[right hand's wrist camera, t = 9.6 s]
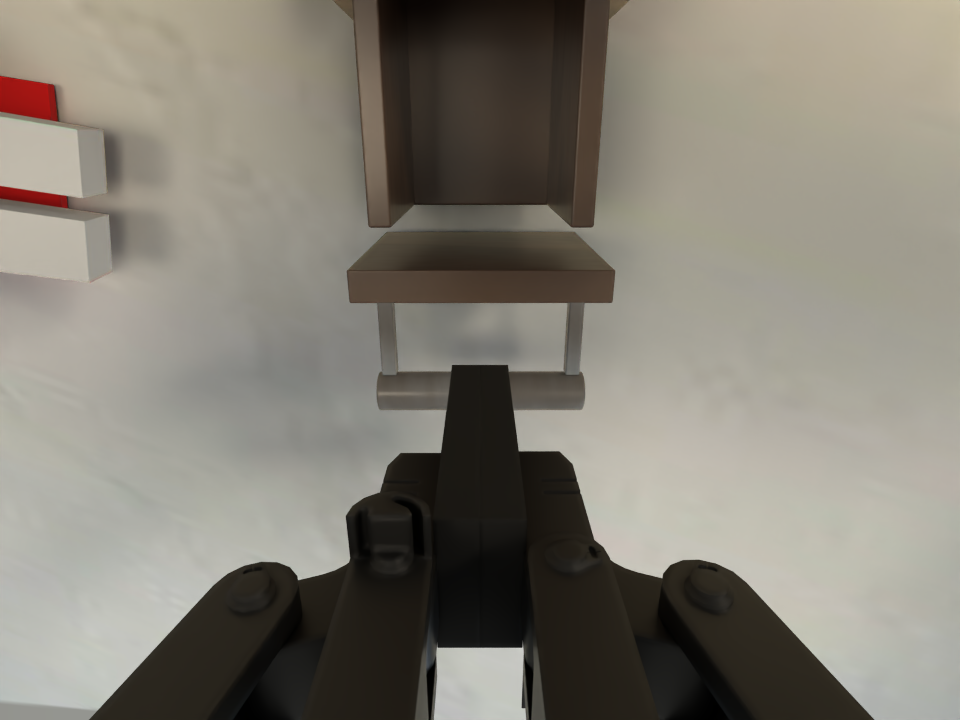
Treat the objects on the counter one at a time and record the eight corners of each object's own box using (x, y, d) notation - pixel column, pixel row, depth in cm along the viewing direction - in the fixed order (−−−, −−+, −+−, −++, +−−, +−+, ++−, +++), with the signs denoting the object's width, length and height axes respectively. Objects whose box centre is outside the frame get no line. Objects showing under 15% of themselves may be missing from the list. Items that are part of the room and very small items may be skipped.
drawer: (567, 355, 30) (600, 436, 22) (393, 355, 30) (361, 436, 22) (596, -118, 22) (665, -271, 14) (364, -118, 22) (297, -271, 14)
